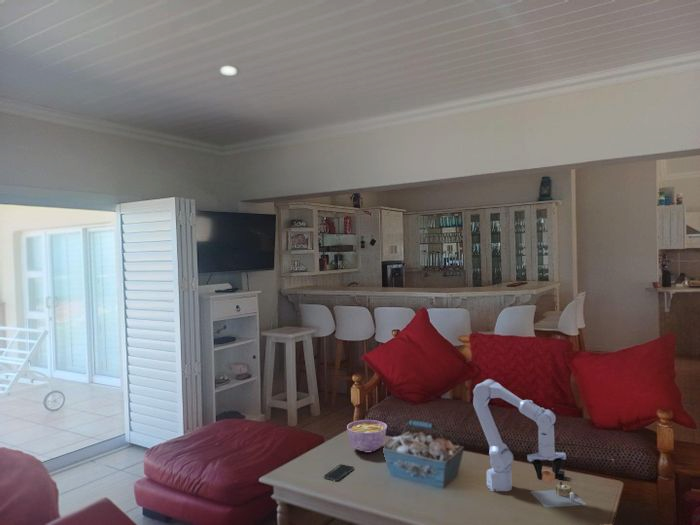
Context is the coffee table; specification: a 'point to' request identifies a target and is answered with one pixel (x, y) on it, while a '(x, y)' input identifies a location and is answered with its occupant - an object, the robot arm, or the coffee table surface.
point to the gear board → (557, 499)
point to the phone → (338, 472)
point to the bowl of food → (367, 434)
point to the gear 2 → (563, 489)
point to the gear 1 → (548, 476)
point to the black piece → (561, 475)
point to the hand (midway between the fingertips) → (547, 478)
